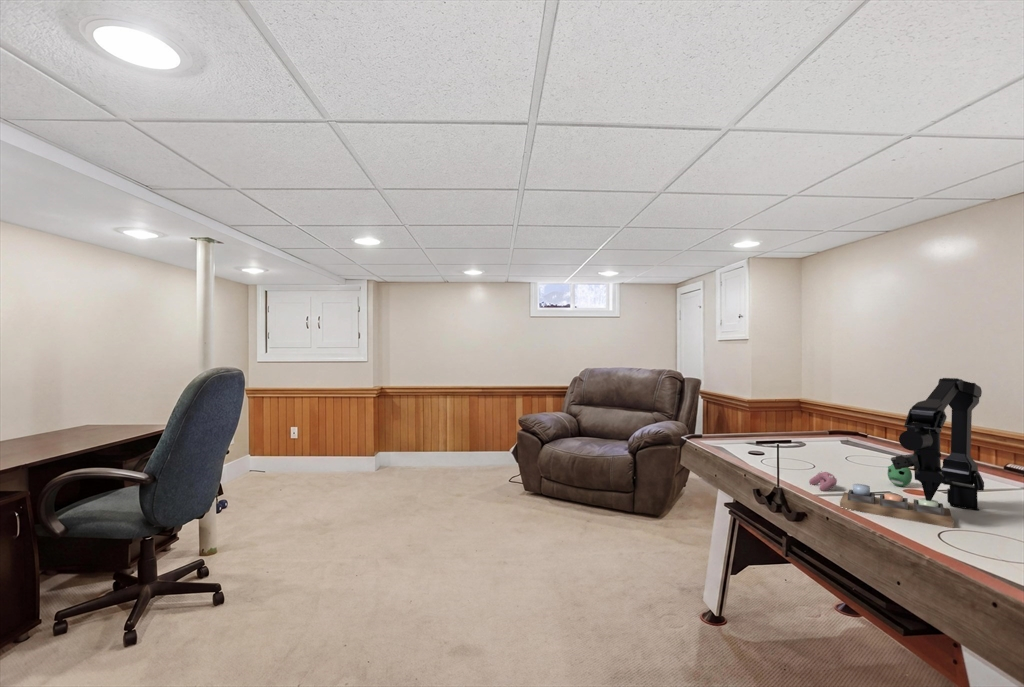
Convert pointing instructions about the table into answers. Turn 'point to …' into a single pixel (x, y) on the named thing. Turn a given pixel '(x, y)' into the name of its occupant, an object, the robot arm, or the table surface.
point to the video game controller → (824, 480)
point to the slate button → (861, 490)
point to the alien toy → (899, 476)
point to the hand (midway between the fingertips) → (928, 500)
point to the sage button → (928, 502)
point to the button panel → (898, 509)
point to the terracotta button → (893, 497)
